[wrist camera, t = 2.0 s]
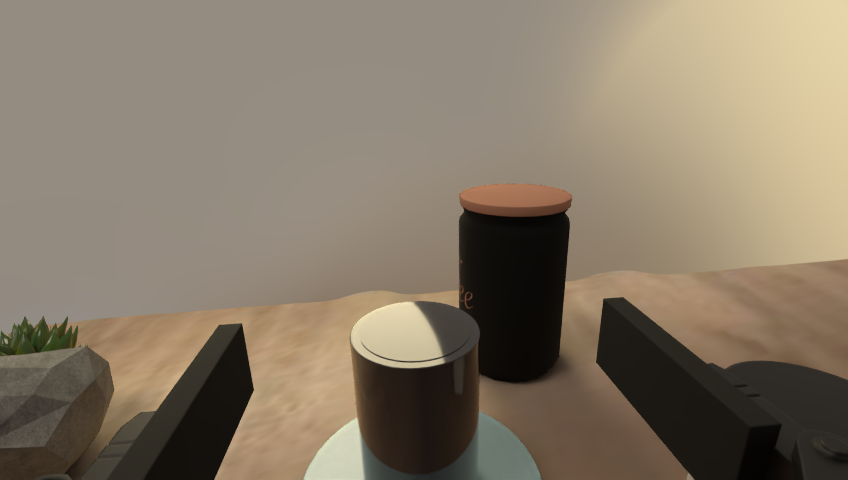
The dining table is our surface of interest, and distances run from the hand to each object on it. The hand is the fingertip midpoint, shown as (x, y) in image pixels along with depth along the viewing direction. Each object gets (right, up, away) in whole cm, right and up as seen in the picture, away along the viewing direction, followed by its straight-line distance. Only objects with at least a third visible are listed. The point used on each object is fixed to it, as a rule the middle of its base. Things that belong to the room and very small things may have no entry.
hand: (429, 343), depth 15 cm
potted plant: (-32, -15, +18) cm, 39 cm away
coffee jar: (+9, -9, +31) cm, 34 cm away
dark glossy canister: (0, -13, +14) cm, 20 cm away
